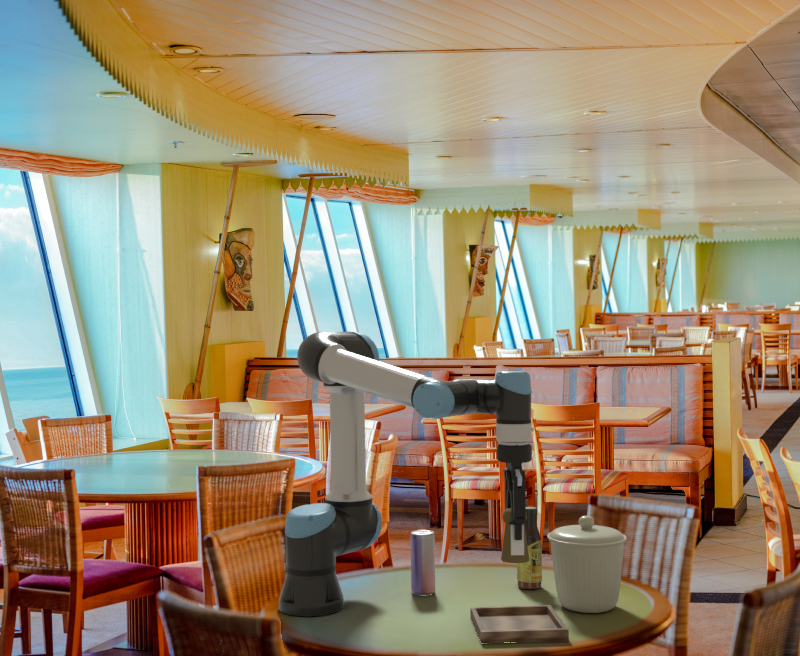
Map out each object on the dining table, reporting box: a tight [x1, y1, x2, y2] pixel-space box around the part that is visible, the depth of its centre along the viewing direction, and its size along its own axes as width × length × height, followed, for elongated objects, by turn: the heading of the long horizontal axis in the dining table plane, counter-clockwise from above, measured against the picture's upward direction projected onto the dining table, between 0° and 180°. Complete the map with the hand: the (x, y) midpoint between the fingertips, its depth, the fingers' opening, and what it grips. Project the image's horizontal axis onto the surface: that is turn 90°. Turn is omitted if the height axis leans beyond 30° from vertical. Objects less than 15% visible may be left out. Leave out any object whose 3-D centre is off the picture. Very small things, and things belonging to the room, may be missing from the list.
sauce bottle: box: [516, 506, 543, 590], centre depth 231 cm, size 7×6×20 cm
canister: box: [546, 515, 628, 614], centre depth 212 cm, size 18×18×21 cm
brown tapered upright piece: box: [500, 508, 529, 564], centre depth 197 cm, size 6×6×11 cm
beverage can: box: [409, 529, 436, 596], centre depth 226 cm, size 6×6×15 cm
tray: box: [469, 604, 570, 644], centre depth 196 cm, size 18×18×2 cm
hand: (515, 551), depth 196 cm, fingers closed on brown tapered upright piece, 5 cm apart
